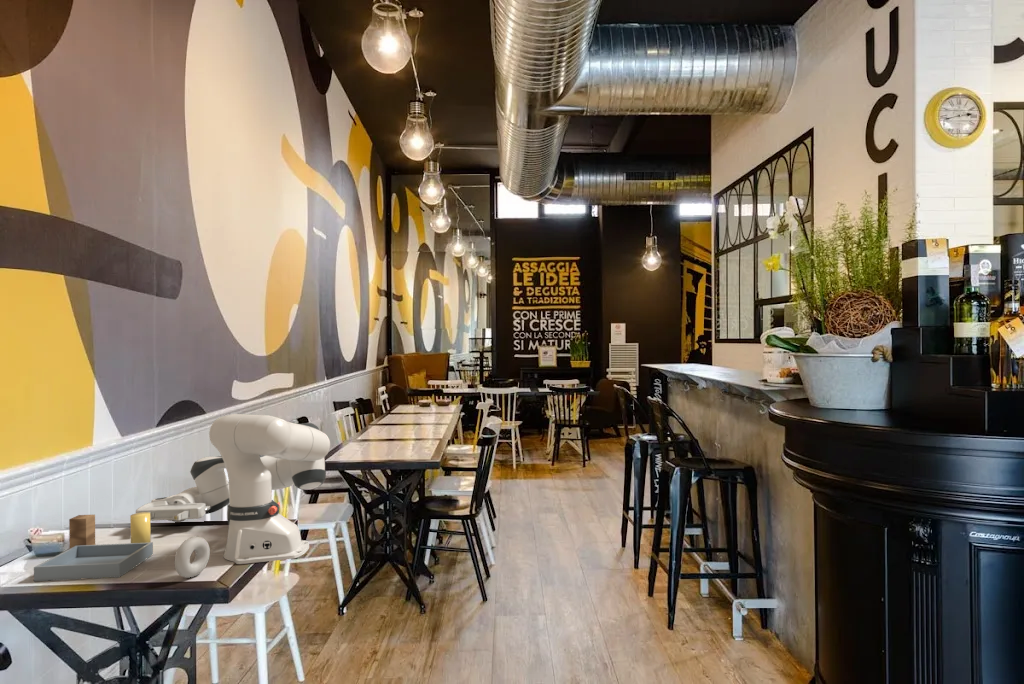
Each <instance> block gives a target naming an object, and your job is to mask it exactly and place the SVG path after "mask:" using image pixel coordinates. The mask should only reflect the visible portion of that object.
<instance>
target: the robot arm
mask: <svg viewBox="0 0 1024 684" xmlns="http://www.w3.org/2000/svg"><path fill="white" fill-rule="evenodd" d="M209 428H210V429H209V433H208V434H209V441H210V442H211V444H212V446H213V447H215V449H216V450H217V451H218V453H219V454H220V456H219V455H218V456H206V457H205V456H204V457H202V458H200V459H197V460H196V461H194V462H193V464H192V466H191V468H190V471H189V472H190V474H191V477H192V479H193V480H194V483H195V486H194V487H190V488H187V489H185V490H183V491H182V492H179V493H177V494H173V495H169V496H166V497H165V496H164V497H158V498H154V499H151V500H150V501H151V502H148V503H145V504H143V505H142V506H140V507H138V508H137V509H136V510H135V514H136V513H142V512H149V513H150V522H152V521H172V522H176V523H181V522H184V521H186V520H196V519H197V520H198V519H201V518H203V517H204V516H205V515H208V514H212V513H214V512H217V511H220V510H222V509H223V508H225V507H226V506H227V514H226V515H227V517H226V518H227V525H228V530H227V532H228V533H227V540H226V544H225V545H226V546H225V549H224V553H223V558H224V559H225V560H227V561H231V562H234V563H235V564H237V565H244V564H253V563H254V564H255V563H265V562H272V561H283V560H292V559H297V558H299V557H302V556H303V555H304V554H306V553H307V552H308V551H309V549H310V542H309V541H308V540H303V539H302V537H301V532H300V528H299V526H298V525H297V524H296V523H294V522H293V521H291V520H289V519H288V518H287V517H285V516H283V514H281V513H280V507H281V502H280V501H279V502H276V501H275V500H273V497H272V496H273V494H272V490H273V491H277V490H281V489H286V488H289V487H292V486H295V487H296V488H297V489H299V490H313V489H316V488H318V487H321V486H322V485H323V484H324V482H325V481H326V478H327V470H326V463H325V462H326V460H325V458H326V456H327V455H328V454H329V452H330V449H331V440H330V438H329V437H328V435H327V434H326V433H325V432H324V431H321V430H320V429H319V427H318V425H316V424H314V423H311V422H304V423H303V422H302V423H295V422H290V421H287V420H285V419H283V418H280V417H278V416H273V415H268V414H249V413H247V414H245V413H244V414H243V413H231V414H227V415H224V416H220V417H217V419H215V420H214V421H213V422H212V424H211V426H210V427H209ZM225 469H226V471H225ZM225 472H226V473H227V475H226V473H225Z"/></svg>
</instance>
